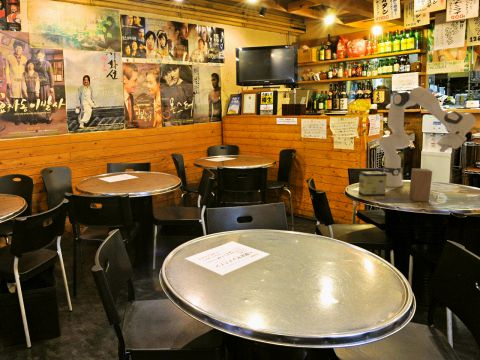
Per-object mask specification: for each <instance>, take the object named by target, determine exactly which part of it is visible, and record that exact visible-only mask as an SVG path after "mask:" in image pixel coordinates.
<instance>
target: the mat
mask: <svg viewBox="0 0 480 360" xmlns="http://www.w3.org/2000/svg"><path fill="white" fill-rule="evenodd" d="M373 199H374V200H375V201H378V202H380V203H381V204H404V203H405V204H409V203H415V204H416V203H417V201H413V200H411V199H410V198H408V197H374V198H373Z"/></svg>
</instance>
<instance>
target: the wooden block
mask: <svg viewBox="0 0 480 360" xmlns="http://www.w3.org/2000/svg"><path fill="white" fill-rule="evenodd" d="M432 177H433V171H432V170H430V169H428V168H413V167H412V168H411V174H410V183H409V193H408V197H409V198H408V199H410V200H412V201H414V202H424V203H425V202H430V196H431V186H432Z"/></svg>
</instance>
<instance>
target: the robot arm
mask: <svg viewBox="0 0 480 360" xmlns="http://www.w3.org/2000/svg"><path fill="white" fill-rule="evenodd" d="M417 105H419V106H420V107H421V108H422V109H424V110H425V111H427V112H428V113H429V114H431V115H432V116H433V117H434V118H435V119H437V120H438V122H440V123H441V124H442V125H443V126H444V127H445V129H446V131H447V132H448V134H446V135H445V134H444V135H443V136H442V137H440V138H439V140H437V142H436V144H437V146H439V147H440V149H439V152H440V153H445V152H446V151H447V150H449V149H456V150H457V149H459V148H460V147H461V146H462V145H463V143H464V142H466V141H467V139H468V138H467V137H466V135H467V133H468V132H470V131H471V130H472V128H474V126H475V124H476V123H477V119H476V117H475V115H474V114H473V113H471V112H466V113H462V112H458V111H456V110H451V111H448V112H445V111H444V110H443V109H442V107H441V104H440V102H439V100H438V97H436V95H435V94H434V93H432V92H431V91H430V90H428V89H426V88H425V87H422V86H420V85H419V86H414V87H413V88H412V89H411V90H406V91H397V92H396V93H394V95H393V96H392V102H391V103H390V104H389V107H388V116H387V117H388V118H387V127H388V128H389V129H390V130H391V132H392V134H385V135H382V136H380V138H379V139H378V146H379V147H380V149H382V151H383V153H384V157H385V158H384V159H385V164H384V167H383V173H385V174H387V176H386V187H388V188H400V187H402V186H404V183H403V174H402V173H401V172H402V167H401V165H402V157H401V155H399V154H398V153H397V150H401V149H403V150H404V149H405V148H408V147H409V146H410V144H411V139H410V136H409V135H408V134H407V133H406V131H405V128H404V125H405V121H404V120H405V110H406V108H407V109H409V108H412V107H415V106H417Z"/></svg>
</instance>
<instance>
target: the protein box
mask: <svg viewBox="0 0 480 360" xmlns="http://www.w3.org/2000/svg"><path fill="white" fill-rule="evenodd" d="M383 172H384V171H383ZM383 172H382V171H379V170H378V171H377V170H375V171H359V175H358V176H359V180H358V181H359V182H358V184H359V185H358V194H360V195H361V196H362V197H385V196H386V192H387V190H386V189H387V186H386V176H387V174H385V173H383Z"/></svg>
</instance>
